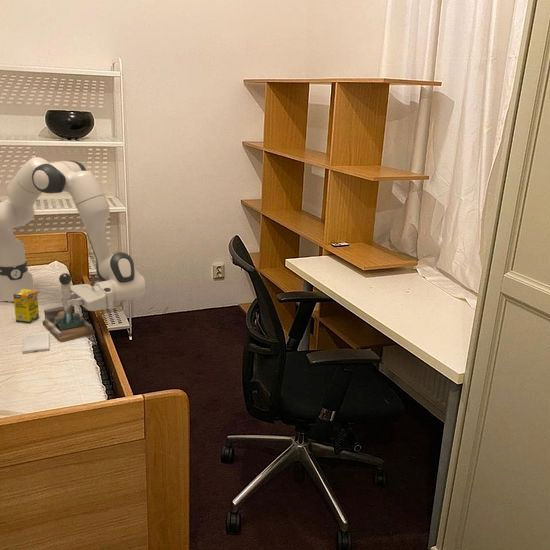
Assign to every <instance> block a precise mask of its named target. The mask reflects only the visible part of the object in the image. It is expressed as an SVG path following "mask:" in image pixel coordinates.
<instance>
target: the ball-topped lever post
mask: <svg viewBox="0 0 550 550" xmlns="http://www.w3.org/2000/svg"><path fill="white" fill-rule="evenodd" d="M71 281H72V276H71V275H70V274H69V273H66V272H65V273H64V272H63V273H61V274H60V275H59V277H58V282H59V283H60V288H61V297H62V298H61V301H62V300H63V301H62V306H63V311H64V315H62V316H58V317H54V321H55V327H56V328H58V329H59V330H64V329H69V328H73V327H78V326H82V325H83V324H82V320H81V319H80V316H81V313H79V312H78V311H77V312H75V313H73V310H72V305H70V306H68V305H67V304H66V300H68V299H71V300H72V298H71V286H72V285H71V283H72V282H71Z"/></svg>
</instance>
